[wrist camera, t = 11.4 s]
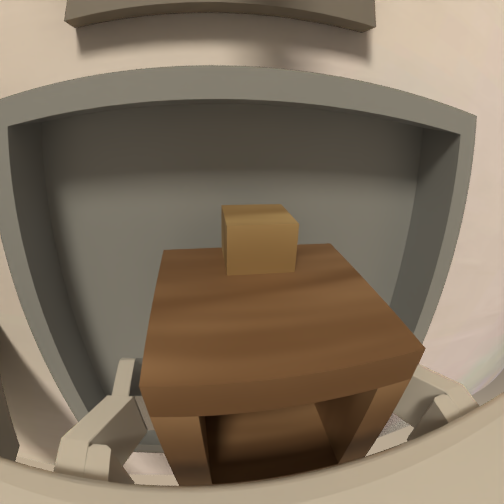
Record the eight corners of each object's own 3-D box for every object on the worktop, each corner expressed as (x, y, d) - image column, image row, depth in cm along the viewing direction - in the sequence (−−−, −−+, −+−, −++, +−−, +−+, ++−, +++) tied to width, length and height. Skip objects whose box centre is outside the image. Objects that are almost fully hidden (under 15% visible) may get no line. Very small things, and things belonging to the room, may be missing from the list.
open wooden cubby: (160, 207, 10) (119, 321, 4) (335, 204, 11) (447, 291, 5) (180, 372, 13) (184, 494, 7) (310, 361, 14) (357, 467, 8)
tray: (428, 110, 12) (476, 116, 9) (365, 385, 19) (384, 419, 16) (30, 103, 9) (-14, 104, 6) (103, 408, 16) (96, 448, 13)
